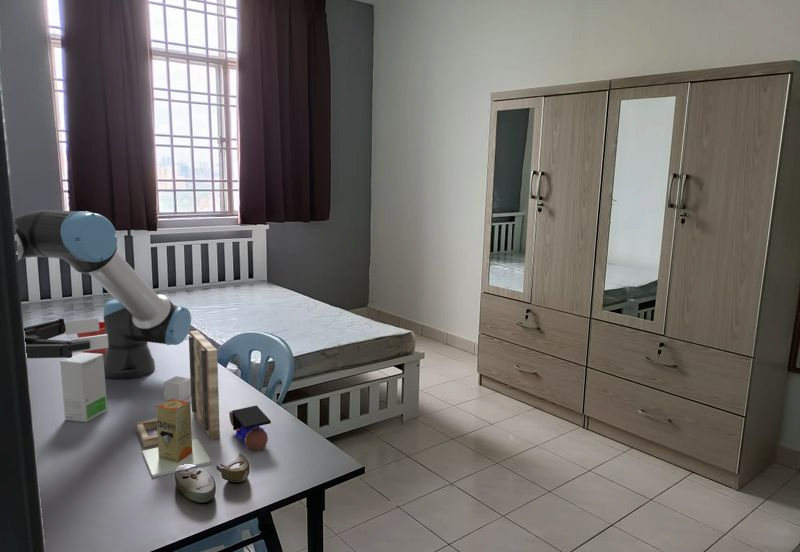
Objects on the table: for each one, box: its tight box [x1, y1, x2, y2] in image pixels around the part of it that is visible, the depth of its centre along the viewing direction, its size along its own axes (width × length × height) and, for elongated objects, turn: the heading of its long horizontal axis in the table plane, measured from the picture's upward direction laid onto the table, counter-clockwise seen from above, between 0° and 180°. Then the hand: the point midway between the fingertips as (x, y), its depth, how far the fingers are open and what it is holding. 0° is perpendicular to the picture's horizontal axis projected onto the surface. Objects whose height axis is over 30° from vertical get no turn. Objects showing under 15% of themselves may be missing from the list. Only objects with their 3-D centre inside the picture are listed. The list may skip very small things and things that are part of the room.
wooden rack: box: [135, 330, 221, 448], centre depth 139 cm, size 18×16×22 cm
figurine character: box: [228, 405, 272, 451], centre depth 137 cm, size 7×8×15 cm
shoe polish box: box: [155, 399, 193, 463], centre depth 127 cm, size 5×5×12 cm
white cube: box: [163, 375, 191, 401], centre depth 161 cm, size 5×5×5 cm
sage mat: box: [142, 438, 212, 479], centre depth 128 cm, size 12×12×1 cm
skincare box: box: [59, 352, 108, 423], centre depth 147 cm, size 8×7×16 cm
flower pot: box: [76, 321, 106, 356], centre depth 195 cm, size 11×11×10 cm
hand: (103, 332), depth 124 cm, fingers open, 13 cm apart
